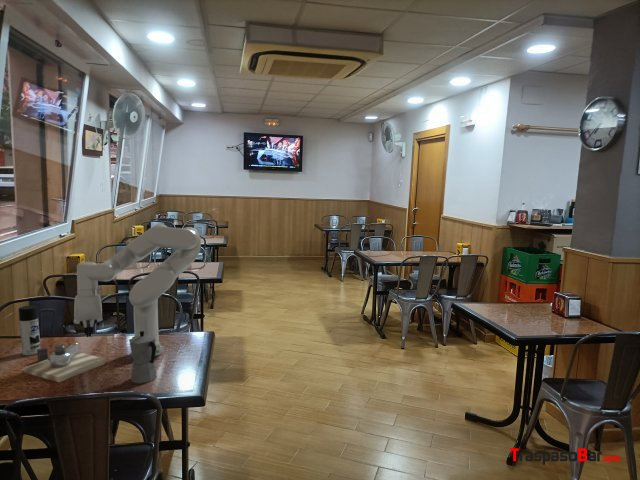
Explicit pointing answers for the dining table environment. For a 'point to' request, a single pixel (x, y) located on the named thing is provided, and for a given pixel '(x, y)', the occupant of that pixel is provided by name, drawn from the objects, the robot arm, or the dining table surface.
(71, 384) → the dining table surface
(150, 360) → the coffeepot
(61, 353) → the crank
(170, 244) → the robot arm
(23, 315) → the spray can
